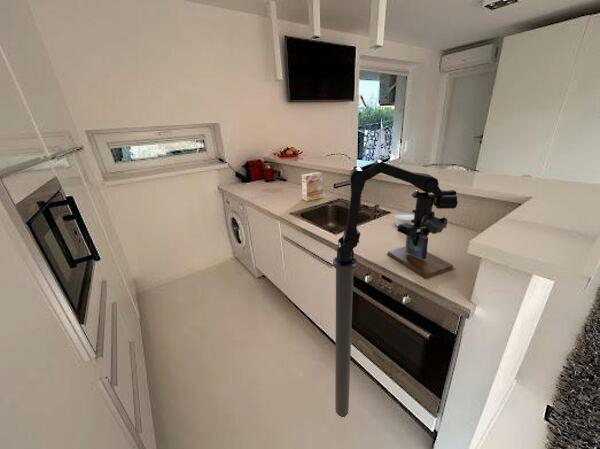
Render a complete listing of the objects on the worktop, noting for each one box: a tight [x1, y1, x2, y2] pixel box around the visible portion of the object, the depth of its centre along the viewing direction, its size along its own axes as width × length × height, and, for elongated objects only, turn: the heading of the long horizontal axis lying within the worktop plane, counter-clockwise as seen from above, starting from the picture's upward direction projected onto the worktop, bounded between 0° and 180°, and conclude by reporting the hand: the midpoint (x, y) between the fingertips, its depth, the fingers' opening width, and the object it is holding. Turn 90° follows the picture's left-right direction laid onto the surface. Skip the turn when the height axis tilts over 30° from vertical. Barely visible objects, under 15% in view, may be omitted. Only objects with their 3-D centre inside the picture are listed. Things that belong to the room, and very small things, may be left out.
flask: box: [404, 234, 429, 259], centre depth 99 cm, size 9×3×11 cm, turn 31°
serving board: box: [387, 246, 454, 279], centre depth 100 cm, size 14×20×2 cm
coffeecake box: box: [301, 171, 324, 202], centre depth 189 cm, size 15×7×20 cm, turn 120°
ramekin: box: [393, 212, 415, 227], centre depth 134 cm, size 11×11×5 cm
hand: (418, 245), depth 99 cm, fingers closed on flask, 3 cm apart
